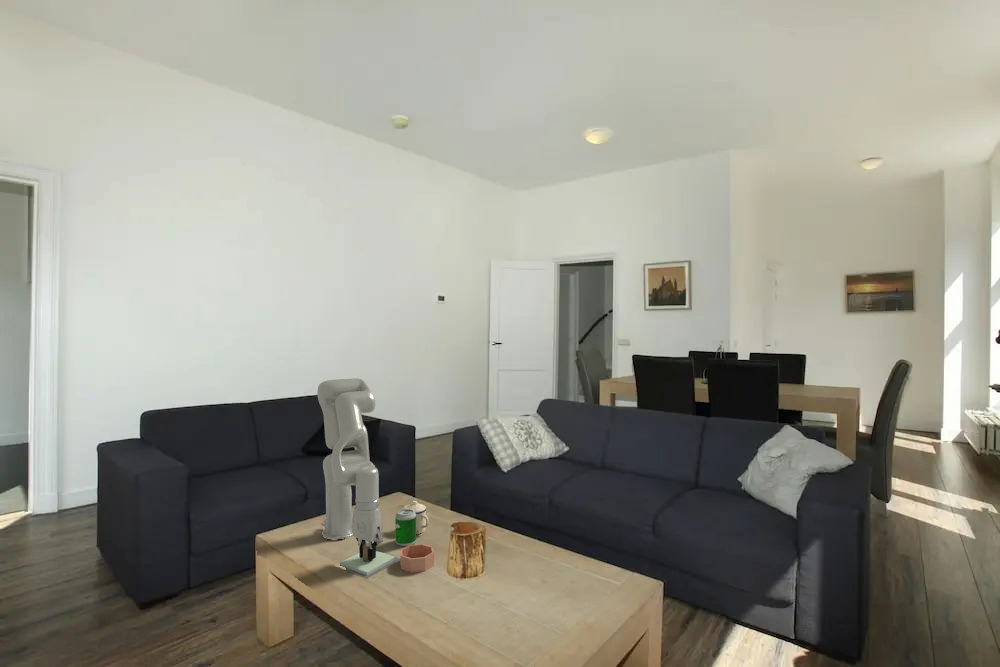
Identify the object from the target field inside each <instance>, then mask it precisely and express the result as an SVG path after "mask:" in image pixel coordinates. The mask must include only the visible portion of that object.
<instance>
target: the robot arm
mask: <svg viewBox="0 0 1000 667" xmlns="http://www.w3.org/2000/svg"><path fill="white" fill-rule="evenodd" d="M317 399H318V403H319V405H320V408H321V410H322V414H323V423H324V424H323V425H324V439H325V444H326V447H327V448H328V449H330V450H332V453H330V454H329V455H327V456H326V457H324V459H323V461H322V468H323V474H324V482H325V519H324V520H323V521H322V522H321V524H320V525H321V526H322V527H324V530H323V531H322V532H321V536H322V535H323V536H324V537H326V538H330V539H342V538H346V537H349V538H350V536H351V537H354V538H355V540H356V541H357V545H358V547H359V548H358V549H359V552H358V553H360V558H362V557H363V545H364V544H366V543H369V549H368V561H371V560H372V559H374V558H376V551H377V547H378V546H379V545H380V544H381V543H383V542H384V539H383V536H382V534H383V533H382V532H383V526H382V515H381V509H380V506H379V504H380V503H379V502H380V501H379V500H380V497H379V493H380V492H379V491H380V490H379V489H380V488H379V484H380V483H379V482H380V481H379V480H380V479H379V475H380V474H379V470H378V468H377V467H376V466H375V464H374V463H373V462H372V461H370V450H369V448H370V447H369V436H368V435H369V434H368V431H367V430H368V429H367V427H366V426H365V423H364V422H363V417H362V414H369V413H372V412H373V411H375V409H376V398H375V395H374V393H373V391H372V389H371V388H370V387H369V386H368V384H367V382H365V381H364V380H363V379H362V378H359V377H358V378H357V377H356V378H355V377H353V378H341V379H340V378H339V379H337V378H336V379H329V380H324V381H322V382H320V383H319V384H318V386H317ZM349 448H354V450H349V451H348V450H346V451H343V449H349ZM352 486H355V500H354V501H355V507H354V509H353V508H352V506H353V505H352V503H353V502H352V497H353V494H352V493H353V492H352V490H353V489H352ZM352 509H353V510H352ZM352 512H353V513H352ZM352 535H353V536H352ZM346 539H347V538H346Z"/></svg>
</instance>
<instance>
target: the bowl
mask: <svg viewBox="0 0 1000 667" xmlns="http://www.w3.org/2000/svg"><path fill="white" fill-rule="evenodd" d="M399 552H400V553H399V554H400V555H399V556H400V562H399V564H400V569H401V570H403V571H405V572H407V573H420V572H421V573H422V572H427V571H428V570H430V569H431V568H433V567H435V550H434V547H433V546H432V545H427V544H425V543H417V544H413V545H409V546H404V547H403V548H402V549H399Z"/></svg>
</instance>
